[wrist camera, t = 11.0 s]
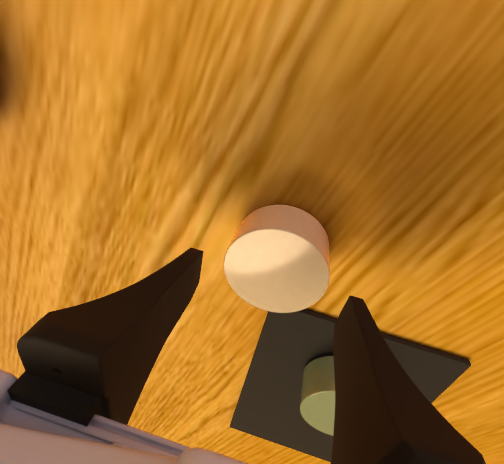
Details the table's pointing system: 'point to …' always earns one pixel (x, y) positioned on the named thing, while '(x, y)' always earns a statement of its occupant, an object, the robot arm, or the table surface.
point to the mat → (291, 370)
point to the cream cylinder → (279, 259)
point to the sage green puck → (319, 394)
